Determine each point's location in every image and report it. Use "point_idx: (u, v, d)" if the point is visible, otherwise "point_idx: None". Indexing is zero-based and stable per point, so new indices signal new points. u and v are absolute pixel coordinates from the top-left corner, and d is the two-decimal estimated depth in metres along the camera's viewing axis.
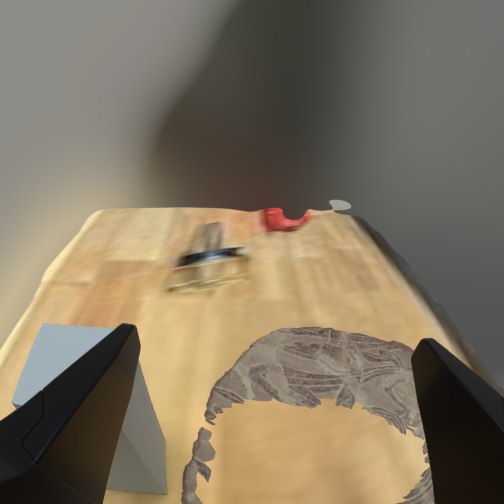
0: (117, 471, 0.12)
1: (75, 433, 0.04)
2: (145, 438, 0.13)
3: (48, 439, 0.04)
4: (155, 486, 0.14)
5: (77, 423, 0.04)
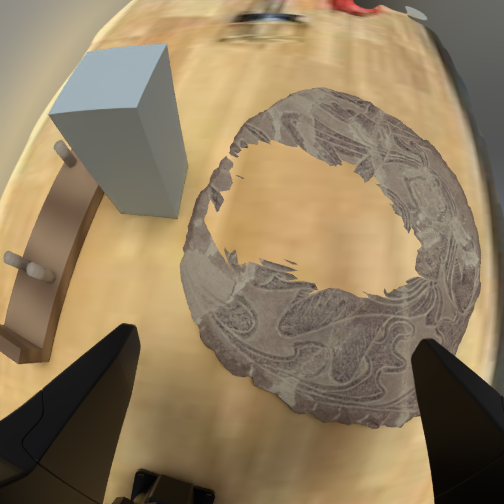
0: (133, 181, 0.18)
1: (75, 433, 0.04)
2: (164, 145, 0.16)
3: (48, 439, 0.04)
4: (167, 204, 0.21)
5: (77, 423, 0.04)
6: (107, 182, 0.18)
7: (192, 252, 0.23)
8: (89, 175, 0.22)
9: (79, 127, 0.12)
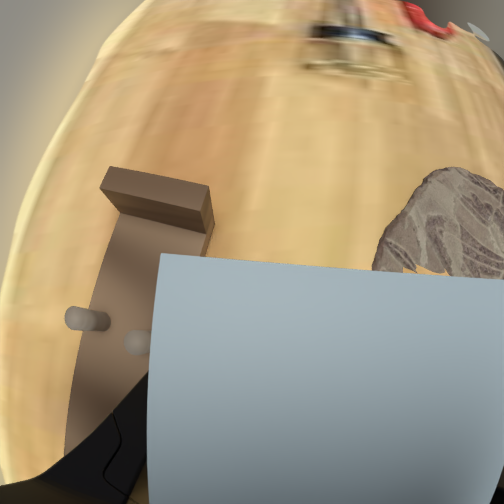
0: None
1: None
2: None
3: (135, 468, 0.04)
4: None
5: None
6: None
7: None
8: (144, 354, 0.13)
9: None
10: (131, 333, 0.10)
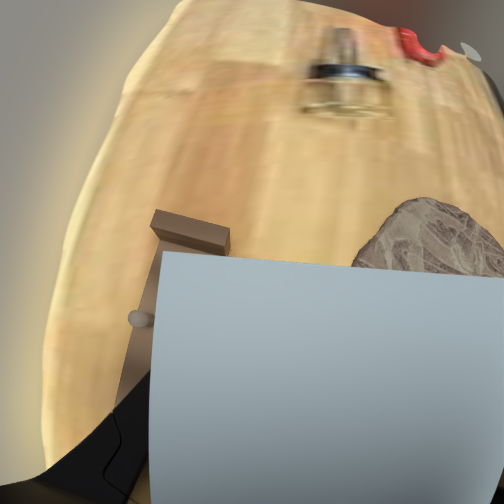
0: None
1: None
2: None
3: (135, 468, 0.04)
4: None
5: None
6: None
7: None
8: None
9: None
10: None
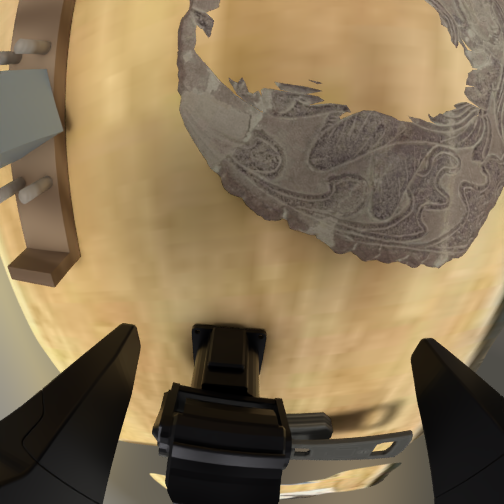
0: None
1: (75, 433, 0.04)
2: None
3: (48, 439, 0.04)
4: (36, 141, 0.13)
5: (77, 423, 0.04)
6: None
7: (190, 92, 0.16)
8: (41, 59, 0.13)
9: None
10: (16, 42, 0.09)
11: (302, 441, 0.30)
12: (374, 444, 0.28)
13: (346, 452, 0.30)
